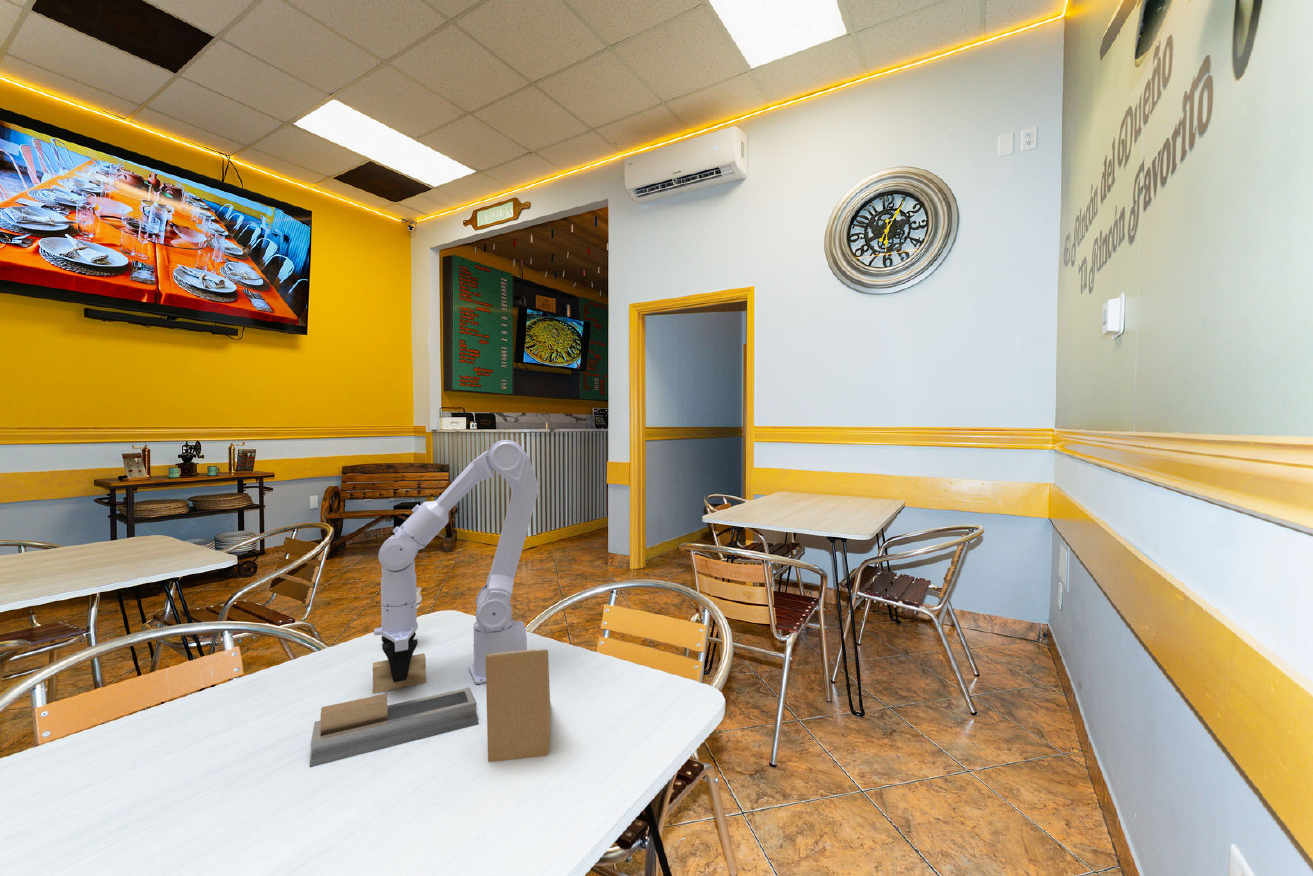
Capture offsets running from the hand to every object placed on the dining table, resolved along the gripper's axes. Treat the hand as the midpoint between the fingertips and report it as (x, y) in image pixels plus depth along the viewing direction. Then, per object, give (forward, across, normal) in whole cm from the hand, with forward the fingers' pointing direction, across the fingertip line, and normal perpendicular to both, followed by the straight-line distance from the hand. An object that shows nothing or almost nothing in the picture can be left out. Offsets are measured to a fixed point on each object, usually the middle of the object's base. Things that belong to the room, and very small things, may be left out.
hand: (399, 677), depth 96 cm
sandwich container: (+2, +25, +16) cm, 30 cm away
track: (+1, +16, -1) cm, 16 cm away
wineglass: (+2, -19, +2) cm, 19 cm away
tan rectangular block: (+1, 0, 0) cm, 1 cm away
